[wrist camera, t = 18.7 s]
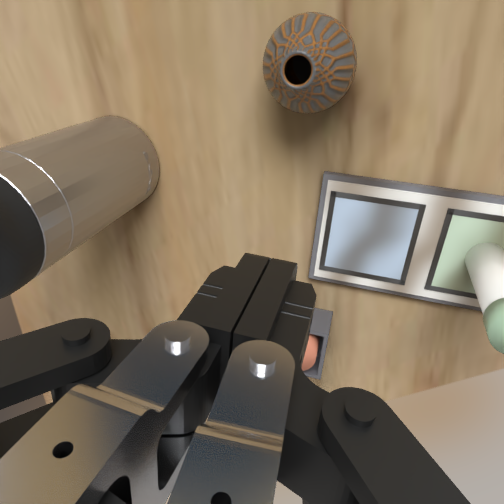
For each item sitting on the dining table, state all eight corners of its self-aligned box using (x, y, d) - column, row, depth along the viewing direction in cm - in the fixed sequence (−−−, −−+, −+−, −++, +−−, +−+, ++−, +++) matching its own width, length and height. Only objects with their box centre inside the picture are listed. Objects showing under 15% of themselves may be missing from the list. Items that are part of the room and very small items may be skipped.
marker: (458, 272, 39) (481, 349, 30) (469, 237, 37) (498, 308, 28) (499, 279, 38) (537, 361, 29) (513, 244, 37) (558, 319, 27)
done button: (278, 345, 48) (271, 365, 45) (282, 313, 46) (275, 332, 43) (317, 354, 47) (313, 375, 44) (323, 322, 45) (318, 342, 42)
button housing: (273, 343, 50) (264, 366, 46) (277, 300, 47) (269, 321, 43) (325, 354, 49) (320, 379, 45) (332, 311, 46) (328, 334, 42)
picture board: (309, 274, 44) (308, 279, 43) (324, 171, 39) (323, 174, 38) (520, 314, 40) (524, 321, 39) (569, 205, 35) (574, 210, 34)
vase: (366, 92, 35) (361, 109, 28) (287, 114, 38) (262, 136, 30) (349, 0, 33) (338, -9, 25) (265, 30, 35) (233, 31, 28)
